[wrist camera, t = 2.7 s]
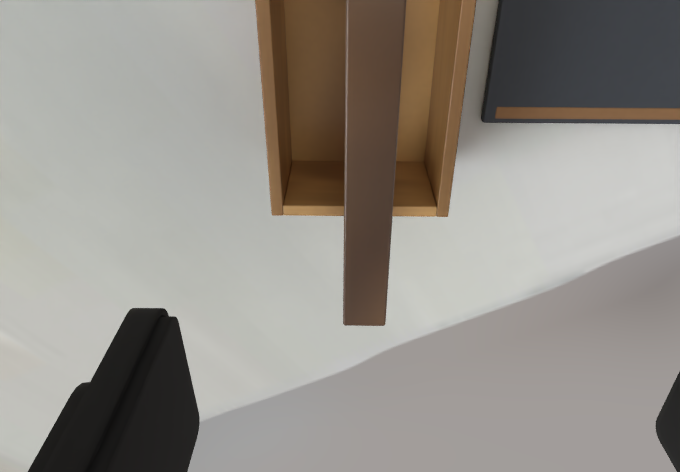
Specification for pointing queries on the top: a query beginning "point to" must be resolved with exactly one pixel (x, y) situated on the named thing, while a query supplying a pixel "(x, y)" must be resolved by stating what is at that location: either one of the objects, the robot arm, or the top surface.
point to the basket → (363, 120)
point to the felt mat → (585, 62)
